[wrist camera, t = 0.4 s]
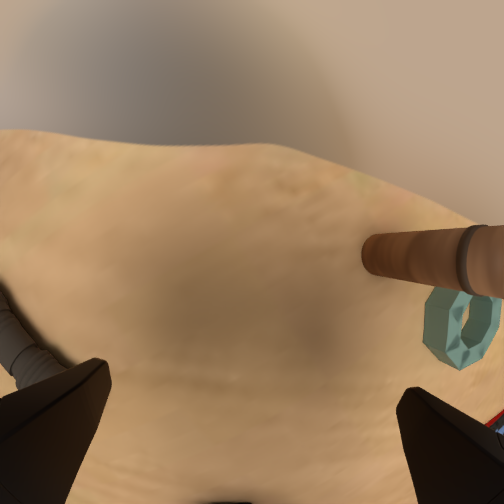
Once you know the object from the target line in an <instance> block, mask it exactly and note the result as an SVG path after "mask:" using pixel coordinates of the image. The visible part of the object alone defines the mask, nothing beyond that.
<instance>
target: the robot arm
mask: <svg viewBox="0 0 504 504" xmlns="http://www.w3.org/2000/svg"><path fill="white" fill-rule="evenodd" d="M111 386H112V381H111V376H110V370H109V365H108V363H107V361H105V360H102V359H99V358H92V359H90V360H87V361H85V362H83V363H81V364H78V365H76V366H74V367H72V368H69V369H67V370H65V371H62V372H60V373H58V374H56V375H53V376H51V377H49V378H46V379H44V380H42V381H39V382H37V383H35V384H32V385H30V386H27V387H25V388H23V389H20V390H18V391H15V392H13V393H10V394H8V395H6V396H3V397H2V399H1V398H0V504H65V502H66V499H67V497H68V494H69V492H70V489H71V487H72V484H73V482H74V480H75V477H76V475H77V473H78V470H79V468H80V466H81V463H82V461H83V459H84V457H85V455H86V452H87V450H88V448H89V446H90V444H91V441H92V439H93V437H94V435H95V433H96V430H97V428H98V425H99V422H100V419H101V416H102V413H103V410H104V407H105V405H106V402H107V399H108V396H109V393H110V390H111ZM396 415H397V419H398V424H399V429H400V434H401V439H402V444H403V449H404V453H405V456H406V460H407V463H408V467H409V470H410V474H411V477H412V481H413V485H414V489H415V493H416V497H417V501H418V504H504V435H502V434H500V433H499V432H496V431H495V430H493V429H491V428H489V427H488V426H486V425H484V424H482V423H480V422H479V421H477V420H475V419H473V418H472V417H470V416H468V415H466V414H465V413H463V412H461V411H459V410H458V409H456V408H454V407H452V406H451V405H449V404H447V403H446V402H444V401H442V400H440V399H439V398H437V397H435V396H434V395H432V394H430V393H429V392H427V391H425V390H424V389H422V388H420V387H410V388H407V389H406V390H405V392H404V394H403V396H402V398H401V399H400V401H399V403H398V405H397V407H396ZM240 504H251V503H240Z"/></svg>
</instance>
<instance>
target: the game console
mask: <svg viewBox="0 0 504 504" xmlns="http://www.w3.org/2000/svg"><path fill="white" fill-rule="evenodd" d="M485 425H486V426H488V427H489V428H491V429H493V430H495V431H496V432H499V433H500V434H502V435H504V410H503V411H502V412H500V413H499V414H498V415H497V416H496V417H494V418H493V419H492V420H490V421H489V422H488V423H487V424H485Z"/></svg>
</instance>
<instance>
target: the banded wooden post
mask: <svg viewBox="0 0 504 504" xmlns="http://www.w3.org/2000/svg"><path fill="white" fill-rule="evenodd" d="M362 262H363V265H364V267H365V268H366V270H367V271H368V272H369V273H371V274H373V275H377V276H383V277H388V278H393V279H399V280H404V281H409V282H415V283H420V284H425V285H431V286H436V287H441V288H447V289H452V290H457V291H463V292H465V293H467V294H469V295H473V296H478V297H483V296H489V297H495V298H500V299H504V225H501V226H488V225H473V226H470V227H468V228H455V229H440V230H426V231H412V232H399V233H385V234H375V235H372V236H371V237H369V238H368V239H367V240H366V242H365V243H364V245H363V248H362Z"/></svg>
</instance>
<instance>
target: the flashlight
mask: <svg viewBox="0 0 504 504" xmlns="http://www.w3.org/2000/svg"><path fill="white" fill-rule="evenodd" d="M0 363H1V365H2V366H3V367H4V368H5V370H6V371H7V372H8V373H9V374H10V375H11V376H13V377H14V378H15V380H16V387H17V389H18V390H20V389H23V388H25V387H27V386H30V385H32V384H35V383H37V382H39V381H42V380H44V379H46V378H49V377H51V376H53V375H56V374H58V373H60V372H62V371H65V370H67V369H66V368H65V367H63V366H62V365H60V364H59V363H58V361H57V360H56V359H54V357H53V355H50V353H49V351H47V350H42V351H41V350H40V349H39V348H38V346H37V344H36V343H35V342H34V340H33V339H32V338H31V337H30V336H29V335H28V333H27V332H26V331H25V330H24V329H23V327H22V326H21V324H20V322H19V320H17V319H16V316H15V315H13V313H12V311H11V309H10V308H9V307H8V302H7V300H6V298H5V297H4V295H3V294H2V293H1V291H0Z"/></svg>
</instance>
